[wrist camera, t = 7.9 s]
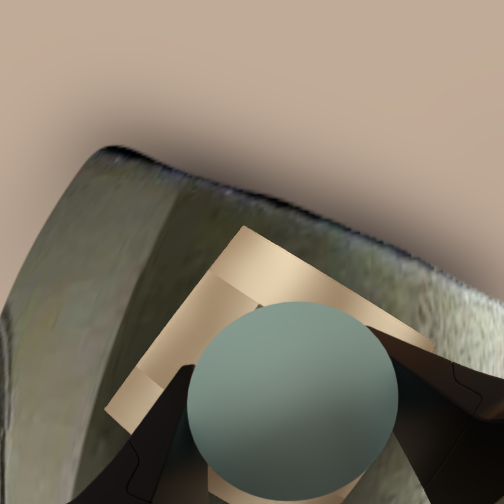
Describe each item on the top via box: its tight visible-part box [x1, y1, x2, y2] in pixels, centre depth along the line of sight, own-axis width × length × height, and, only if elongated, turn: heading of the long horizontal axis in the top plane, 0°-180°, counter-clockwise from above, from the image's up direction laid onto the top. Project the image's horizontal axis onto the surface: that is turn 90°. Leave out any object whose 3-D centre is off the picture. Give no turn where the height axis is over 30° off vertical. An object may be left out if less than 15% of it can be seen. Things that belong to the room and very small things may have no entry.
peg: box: [187, 301, 398, 501], centre depth 10 cm, size 5×5×9 cm
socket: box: [104, 226, 436, 504], centre depth 15 cm, size 13×13×4 cm
